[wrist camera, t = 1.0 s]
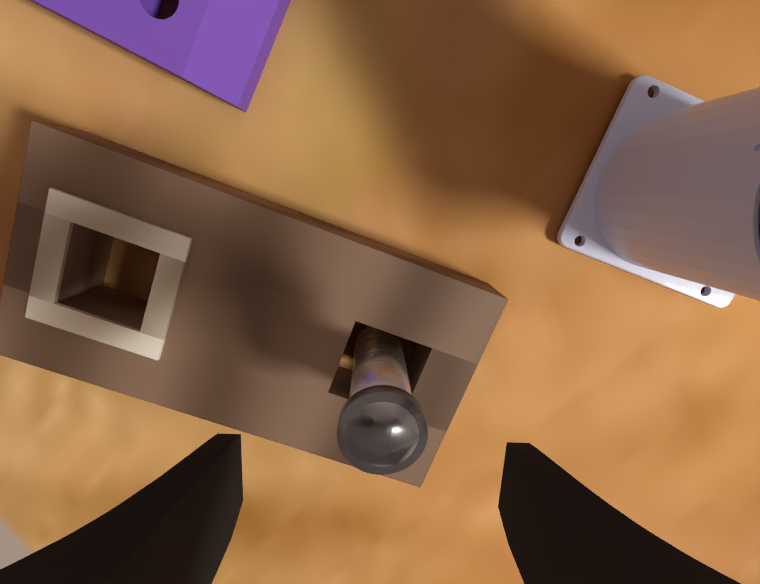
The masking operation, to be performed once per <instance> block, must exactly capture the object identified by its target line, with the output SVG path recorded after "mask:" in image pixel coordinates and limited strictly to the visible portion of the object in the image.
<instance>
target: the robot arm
mask: <svg viewBox="0 0 760 584" xmlns="http://www.w3.org/2000/svg"><path fill="white" fill-rule="evenodd" d="M649 87H651V88H652V89H653V92H654V93H653V96H652V98H650V97H649V96H648V93H647V92H648V89H649ZM577 236H581V243H580V244H579V245H575V242H574V241H575V238H576V237H577ZM557 241H558V242H559V244H560V245H562V246H563V247H566V248H568V249H571V250H573V251H576V252H578V253H581V254H584V255H586V256H589V257H591V258H594V259H596V260H599V261H601V262H604V263H606V264H609V265H611V266H614V267H616V268H619V269H621V270H624V271H626V272H629V273H631V274H634V275H637V276H639V277H642V278H644V279H647V280H649V281H652V282H654V283H657V284H659V285H662V286H664V287H667V288H669V289H672V290H674V291H677V292H679V293H682V294H684V295H687V296H690V297H692V298H695V299H697V300H700V301H702V302H705V303H707V304H710V305H712V306H715V307H720V308H721V307H725V306H727V305H728V304H729V303H730V302H731V300H732V298H733V297H734V295H735V294H737V295H741V296H744V297H748V298H752V299H755V300H759V301H760V87H759V88H756V89H752V90H748V91H744V92H741V93H737V94H733V95H729V96H725V97H722V98H718V99H714V100H710V101H707V102H706V101H703V100H701V99H699V98H697V97H695V96H692V95H690V94H688V93H686V92H684V91H681V90H679V89H677V88H675V87H673V86H670V85H668V84H666V83H664V82H662V81H659V80H657V79H655V78H653V77H651V76H648V75H641V76H638V77H636V78H634V79H633V80H632V81H631V82H630V84H629V85H628V87H627V89H626V92H625V94H624V96H623V98H622V100H621V102H620V104H619V106H618V108H617V110H616V112H615V115H614V117H613V119H612V121H611V123H610V125H609V127H608V129H607V131H606V133H605V136H604V138H603V140H602V142H601V144H600V146H599V148H598V150H597V152H596V154H595V156H594V159H593V161H592V163H591V165H590V167H589V169H588V171H587V173H586V175H585V177H584V180H583V182H582V184H581V186H580V188H579V190H578V192H577V194H576V196H575V198H574V200H573V203H572V205H571V207H570V209H569V211H568V213H567V215H566V217H565V219H564V221H563V224H562V226H561V228H560V230H559V232H558V235H557ZM703 287H705V290H704V292H703V293H702V294H701V293H700V292H701V289H702V288H703ZM242 502H243V486H242V460H241V434H217V435H215V436H214V437H212V438H211V439H209V440H208V441H207V442H205V443H204V444H203V445H201V446H200V447H199V448H198V449H196V450H195V451H194V452H192V453H191V454H190V455H188V456H187V457H186V458H184V459H183V460H182V461H180V462H179V463H178V464H176V465H175V466H174V467H172V468H171V469H170V470H168V471H167V472H166V473H164V474H163V475H162V476H160V477H159V478H158V479H156V480H155V481H153V482H152V483H150V484H149V485H147V486H146V487H144V488H143V489H141V490H140V491H139V492H137V493H136V494H134V495H133V496H131V497H130V498H128V499H127V500H125V501H124V502H122V503H121V504H119V505H118V506H116V507H115V508H113V509H112V510H110V511H108V512H107V513H105V514H104V515H102V516H100V517H99V518H97V519H95V520H94V521H92V522H90V523H88V524H87V525H85V526H83V527H81V528H80V529H78V530H76V531H75V532H73V533H71V534H69V535H67V536H66V537H64V538H62V539H60V540H58V541H56V542H54V543H52V544H50V545H48V546H46V547H44V548H42V549H40V550H38V551H36V552H35V553H33V554H31V555H29V556H27V557H25V558H23V559H21V560H19V561H17V562H15V563H13V564H11V565H9V566H7V567H5V568H3V569H0V584H212V581H213V579H214V577H215V575H216V572H217V570H218V568H219V566H220V563H221V561H222V559H223V556H224V554H225V552H226V549H227V547H228V545H229V542H230V540H231V537H232V534H233V531H234V528H235V525H236V522H237V518H238V515H239V512H240V508H241V505H242ZM498 507H499V511H500V515H501V519H502V523H503V526H504V530H505V533H506V537H507V540H508V544H509V546H510V549H511V552H512V554H513V557H514V559H515V562H516V564H517V567H518V569H519V572H520V574H521V576H522V579H523V581H524V584H740V583H738V582H736V581H735V580H733V579H731V578H729V577H727V576H725V575H723V574H721V573H720V572H718V571H716V570H714V569H712V568H710V567H708V566H707V565H705V564H703V563H701V562H699V561H697V560H696V559H694V558H692V557H690V556H689V555H687V554H685V553H683V552H682V551H680V550H678V549H677V548H675V547H673V546H672V545H670V544H669V543H667V542H665V541H664V540H662V539H660V538H659V537H657V536H656V535H654V534H652V533H651V532H649V531H647V530H646V529H644V528H643V527H641V526H640V525H638V524H637V523H635V522H634V521H632V520H631V519H629V518H628V517H627V516H625V515H624V514H622V513H621V512H619V511H618V510H617V509H615V508H614V507H612V506H611V505H609V504H608V503H607V502H605V501H604V500H603V499H601V498H600V497H599V496H597V495H596V494H595V493H593V492H592V491H591V490H589V489H588V488H587V487H585V486H584V485H583V484H581V483H580V482H579V481H578V480H576V479H575V478H574V477H572V476H571V475H570V474H569V473H567V472H566V471H565V470H564V469H562V468H561V467H560V466H559V465H557V464H556V463H555V462H554V461H552V460H551V459H550V458H548V457H547V456H546V455H545V454H543V453H542V452H541V451H539V450H538V449H537V448H535V447H534V446H533V445H531V444H530V443H508V442H507V446H506V453H505V461H504V468H503V475H502V483H501V490H500V497H499V505H498Z"/></svg>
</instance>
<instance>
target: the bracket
mask: <svg viewBox="0 0 760 584" xmlns="http://www.w3.org/2000/svg"><path fill="white" fill-rule="evenodd" d="M31 1H32V2H34V3H36V4H38V5H40V6H42V7H44V8H46V9H48V10H50V11H52V12H54V13H56V14H58V15H59V16H61V17H63V18H65V19H67V20H69V21H71V22H73V23H75V24H77V25H79V26H81V27H83V28H84V29H86V30H88V31H90V32H92V33H94V34H96V35H98V36H100V37H102V38H104V39H106V40H108V41H110V42H111V43H113V44H115V45H117V46H119V47H121V48H123V49H125V50H127V51H129V52H131V53H133V54H135V55H137V56H138V57H140V58H142V59H144V60H146V61H148V62H150V63H152V64H154V65H156V66H158V67H160V68H162V69H163V70H165V71H167V72H169V73H171V74H173V75H175V76H177V77H179V78H181V79H183V80H185V81H187V82H189V83H190V84H192V85H194V86H196V87H198V88H200V89H202V90H204V91H206V92H208V93H210V94H212V95H214V96H215V97H217V98H219V99H221V100H223V101H225V102H227V103H229V104H231V105H233V106H235V107H237V108H239V109H241V110H242V111H244V112H246V111H247V109H248V106H249V104H250V101H251V99H252V96H253V94H254V91H255V89H256V86H257V84H258V81H259V79H260V76H261V74H262V71H263V68H264V66H265V63H266V61H267V58H268V56H269V53H270V51H271V48H272V46H273V43H274V41H275V38H276V36H277V33H278V31H279V28H280V26H281V23H282V21H283V18H284V16H285V13H286V11H287V8H288V6H289V3H290V1H291V0H179V5H178V8H177V10H176V12H175V13H174V14H173V15H172V16H171V17H169V18H167V19H159V10H160V6H161V4H162V2H163V1H164V0H31Z"/></svg>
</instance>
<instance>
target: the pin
mask: <svg viewBox="0 0 760 584" xmlns="http://www.w3.org/2000/svg"><path fill="white" fill-rule="evenodd" d="M427 440H428V427H427V423H426V419H425V414H424V411H423V409H422V407H421V405H420V403H419V402H418V401H417V399H415V398H414V397H413V396H412V393H411V388H410V383H409V378H408V373H407V368H406V363H405V358H404V353H403V348H402V343H401V339H400V337H399V336H396V335H393V334H391V333H388V332H385V331H382V330H379V329H377V328H374V327H371V326H367V327H366V328H364V329H363V330H362V331H361V332H360V333H359V334H358V336H357V338H356V342H355V351H354V360H353V370H352V379H351V389H350V398H349V399H348V400H347V401H346V403H345V404H344V406H343V407H342V409H341V412H340V415H339V419H338V426H337V442H338V446H339V449H340V451H341V453H342V454H343V456H344V457H345V458H346V460H347V461H348V462H349V463H350V464H352V465H353V466H354V467H356V468H358V469H360V470H362V471H364V472H367V473H371V474H378V475H385V474H392V473H396V472H399V471H402V470H404V469H406V468H408V467H409V466H411V465H412V464H413V463H414V462H416V460H417V459H418V458H419V457H420V456H421V454H422V453H423V451H424V449H425V447H426V444H427Z"/></svg>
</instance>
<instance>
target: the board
mask: <svg viewBox="0 0 760 584" xmlns="http://www.w3.org/2000/svg"><path fill="white" fill-rule="evenodd" d="M114 237H115V238H118V239H121V240H124V241H127V242H129V243H132V244H135V245H138V246H141V247H144V248H146V249H149V250H152V251H155V252H158V253H160V256H159V260H158V264H157V268H156V272H155V276H154V280H153V283H152V287H151V291H150V295H149V299H148V302H147V301H144V300H141V299H138V298H135V297H132V296H129V295H126V294H124V293H121V292H118V291H115V290H112V289H109V288H106V287H103V286H102V285H103V281H104V277H105V272H106V268H107V264H108V259H109V255H110V251H111V246H112V242H113V238H114ZM507 301H508V299H507V298H506V297H505V296H503V295H502V294H501V293H499V292H498V291H497V290H496V289H494V288H493V287H492V286H491V285H489V284H488V283H485V282H482V281H480V280H477V279H474V278H472V277H469V276H466V275H464V274H461V273H458V272H456V271H453V270H450V269H448V268H445V267H443V266H440V265H437V264H435V263H432V262H429V261H427V260H424V259H421V258H419V257H416V256H413V255H411V254H408V253H405V252H403V251H400V250H398V249H395V248H392V247H390V246H387V245H384V244H382V243H379V242H376V241H374V240H371V239H368V238H366V237H363V236H360V235H358V234H355V233H353V232H350V231H347V230H345V229H342V228H339V227H337V226H334V225H331V224H329V223H326V222H323V221H321V220H318V219H315V218H313V217H310V216H308V215H305V214H302V213H300V212H297V211H294V210H292V209H289V208H286V207H284V206H281V205H278V204H276V203H273V202H270V201H268V200H265V199H263V198H260V197H257V196H255V195H252V194H249V193H247V192H244V191H241V190H239V189H236V188H233V187H231V186H228V185H225V184H223V183H220V182H218V181H215V180H212V179H210V178H207V177H204V176H202V175H199V174H196V173H194V172H191V171H188V170H186V169H183V168H180V167H178V166H175V165H173V164H170V163H167V162H165V161H162V160H159V159H157V158H154V157H151V156H149V155H146V154H143V153H141V152H138V151H135V150H133V149H130V148H128V147H125V146H122V145H120V144H117V143H114V142H112V141H109V140H106V139H104V138H101V137H98V136H96V135H93V134H90V133H88V132H85V131H80V130H76V129H71V128H66V127H61V126H56V125H51V124H46V123H42V122H37V121H31V127H30V133H29V139H28V144H27V150H26V156H25V162H24V167H23V173H22V179H21V185H20V190H19V196H18V202H17V208H16V214H15V219H14V225H13V231H12V237H11V242H10V248H9V254H8V260H7V266H6V271H5V277H4V283H3V289H2V294H1V300H0V355H2V356H5V357H8V358H11V359H14V360H18V361H21V362H24V363H27V364H30V365H34V366H37V367H40V368H43V369H46V370H49V371H53V372H56V373H59V374H62V375H65V376H68V377H72V378H75V379H78V380H81V381H84V382H87V383H91V384H94V385H97V386H100V387H103V388H106V389H110V390H113V391H116V392H119V393H122V394H125V395H129V396H132V397H135V398H138V399H141V400H145V401H148V402H151V403H154V404H157V405H160V406H164V407H167V408H170V409H173V410H176V411H179V412H183V413H186V414H189V415H192V416H195V417H198V418H202V419H205V420H208V421H211V422H214V423H217V424H221V425H224V426H227V427H230V428H233V429H236V430H240V431H243V432H246V433H249V434H252V435H255V436H259V437H262V438H265V439H268V440H271V441H275V442H278V443H281V444H284V445H287V446H290V447H294V448H297V449H300V450H303V451H306V452H309V453H313V454H316V455H319V456H322V457H325V458H328V459H332V460H335V461H338V462H341V463H344V464H347V465H351V466H353V465H352V464H350V463H349V462H348V461H347V460H346V458H345V457H344V456H343V454H342V453H341V451H340V449H339V446H338V442H337V426H338V419H339V415H340V412H341V409H342V407H343V406H344V404H345V403H346V401H347V400H348V399H349V398H350V389H351V379H352V371H350V370H347V369H344V368H341V367H338V365H339V362H340V360H341V357H342V355H343V352H344V349H345V347H346V344H347V342H348V339H349V336H350V334H351V331H352V329H353V326H354V323H355V321H357V322H360V323H362V324H365V325H368V326H371V327H374V328H377V329H379V330H382V331H385V332H388V333H391V334H393V335H396V336H399V337H402V338H405V339H408V340H410V341H413V342H416V343H417V344H416V346H415V349H414V351H413V353H412V356H411V358H410V360H409V363H408V365H407V367H406V368H407V373H408V378H409V383H410V388H411V393H412V396H413V397H414V398H415V399H417V401H418V402H419V403H420V405H421V407H422V409H423V411H424V414H425V419H426V423H427V427H428V440H427V444H426V447H425V449H424V451H423V453H422V454H421V456H420V457H419V458H418V459H417V460H416V462H414V463H413V464H412V465H411V466H409V467H408V468H406V469H404V470H402V471H399V472H396V473H392V474H385V475H382V476H385V477H389V478H392V479H395V480H398V481H401V482H405V483H408V484H411V485H414V486H417V487H421V485H422V483H423V481H424V479H425V476H426V474H427V472H428V470H429V468H430V466H431V464H432V461H433V459H434V457H435V455H436V453H437V451H438V449H439V446H440V444H441V442H442V440H443V438H444V436H445V434H446V431H447V429H448V427H449V425H450V423H451V421H452V419H453V416H454V414H455V412H456V410H457V408H458V406H459V404H460V401H461V399H462V397H463V395H464V393H465V391H466V389H467V386H468V384H469V382H470V380H471V378H472V376H473V374H474V371H475V369H476V367H477V365H478V363H479V361H480V359H481V356H482V354H483V352H484V350H485V348H486V346H487V344H488V341H489V339H490V337H491V335H492V333H493V331H494V329H495V326H496V324H497V322H498V320H499V318H500V316H501V314H502V311H503V309H504V307H505V305H506V303H507Z"/></svg>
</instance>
